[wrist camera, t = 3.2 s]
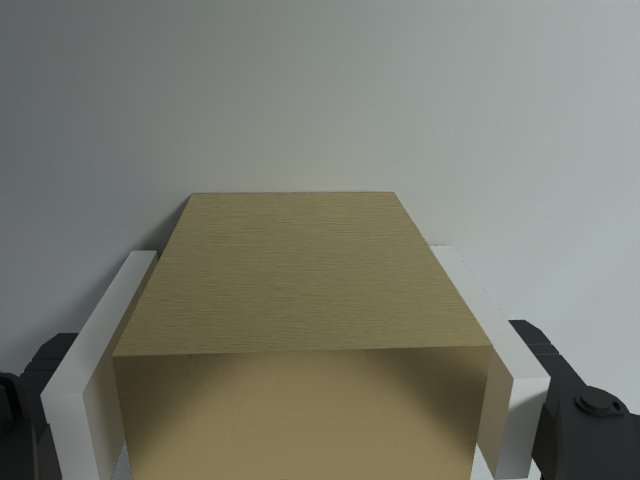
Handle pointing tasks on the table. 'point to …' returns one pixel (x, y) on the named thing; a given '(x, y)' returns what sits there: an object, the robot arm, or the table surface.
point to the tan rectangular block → (300, 347)
